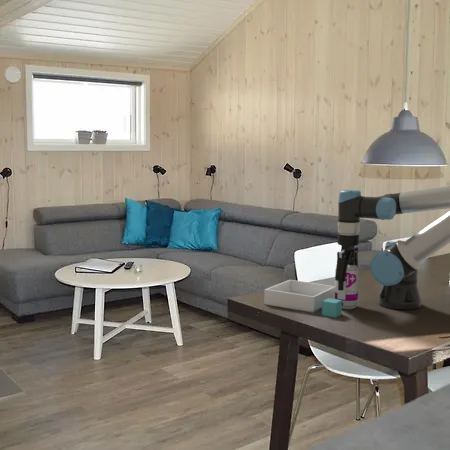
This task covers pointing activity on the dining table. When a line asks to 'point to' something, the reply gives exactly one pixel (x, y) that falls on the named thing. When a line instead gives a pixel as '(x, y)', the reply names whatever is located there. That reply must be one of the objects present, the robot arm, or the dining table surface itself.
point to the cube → (331, 307)
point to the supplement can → (350, 287)
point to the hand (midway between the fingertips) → (346, 296)
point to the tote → (299, 295)
